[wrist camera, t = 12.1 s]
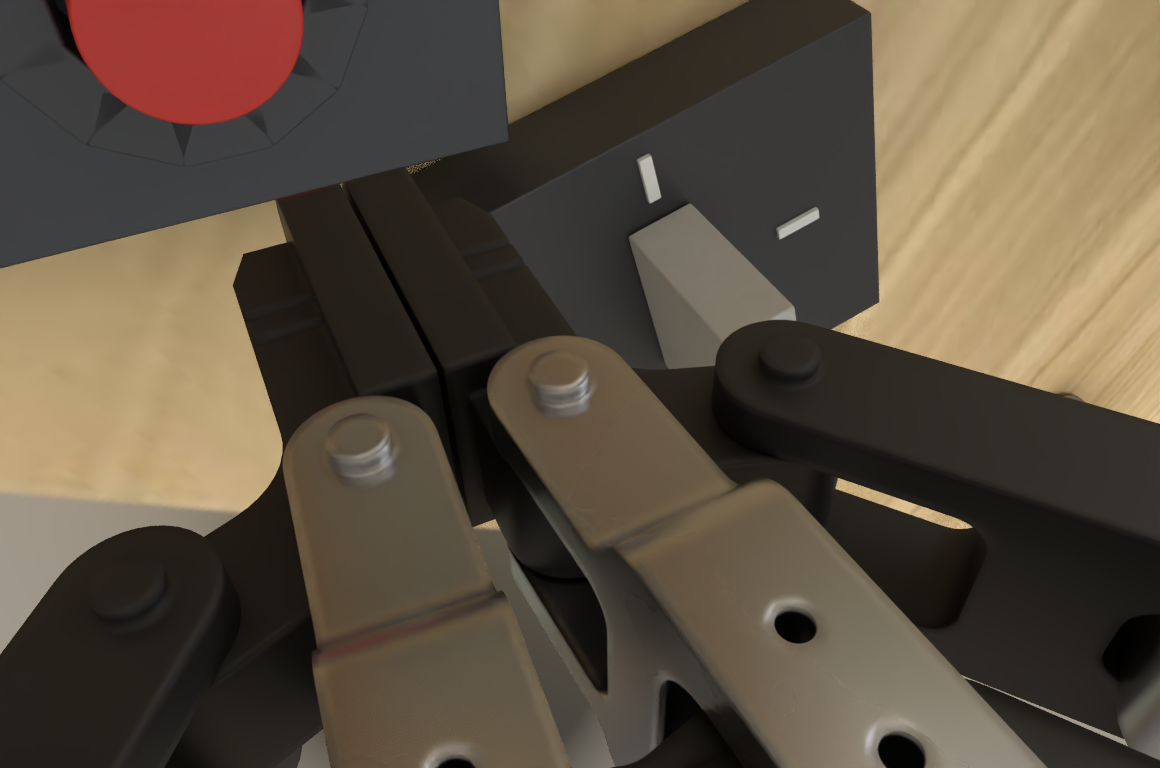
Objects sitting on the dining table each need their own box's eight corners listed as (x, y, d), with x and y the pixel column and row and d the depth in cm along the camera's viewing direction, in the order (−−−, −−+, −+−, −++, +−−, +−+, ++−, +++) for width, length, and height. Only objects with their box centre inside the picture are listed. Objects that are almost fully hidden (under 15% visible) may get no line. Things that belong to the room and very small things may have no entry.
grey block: (627, 235, 26) (729, 352, 23) (690, 201, 26) (801, 311, 23) (664, 364, 30) (756, 479, 27) (719, 334, 30) (817, 444, 27)
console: (804, -28, 27) (875, 14, 25) (828, 255, 35) (882, 305, 33) (353, 204, 25) (389, 270, 23) (488, 444, 34) (523, 508, 31)
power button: (254, -143, 16) (277, -113, 15) (301, 62, 19) (323, 101, 18) (23, -110, 15) (28, -74, 14) (106, 102, 18) (115, 147, 16)
